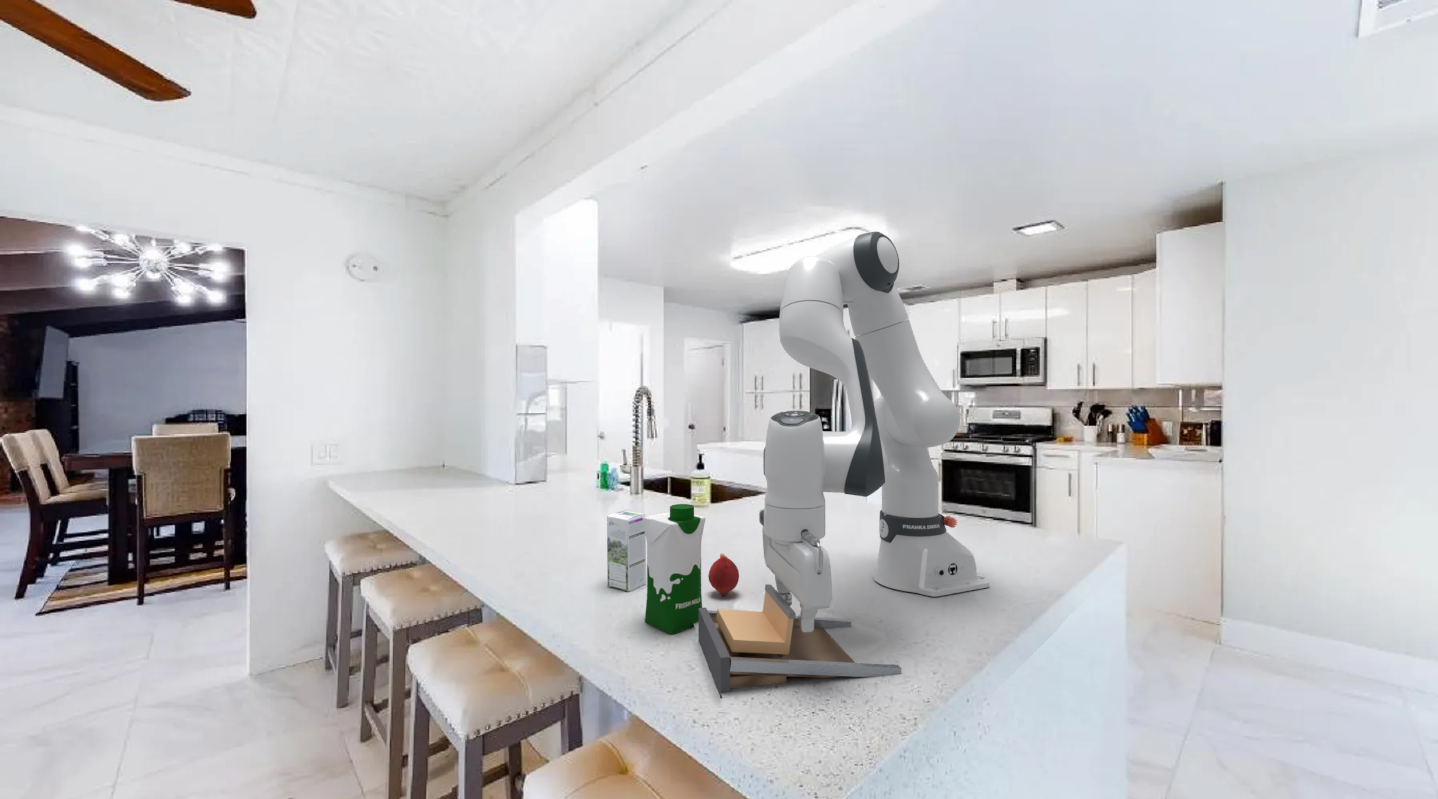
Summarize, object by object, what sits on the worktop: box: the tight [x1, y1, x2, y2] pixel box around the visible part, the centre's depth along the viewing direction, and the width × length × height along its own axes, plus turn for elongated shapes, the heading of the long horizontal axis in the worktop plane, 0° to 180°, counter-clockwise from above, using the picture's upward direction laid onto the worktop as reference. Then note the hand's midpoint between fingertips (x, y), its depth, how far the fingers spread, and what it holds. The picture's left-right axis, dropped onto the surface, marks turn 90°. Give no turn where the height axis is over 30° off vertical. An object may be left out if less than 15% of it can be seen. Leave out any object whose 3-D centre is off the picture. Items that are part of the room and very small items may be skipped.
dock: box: [697, 607, 902, 699], centre depth 84 cm, size 25×17×6 cm
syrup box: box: [606, 510, 647, 592], centre depth 115 cm, size 6×6×14 cm
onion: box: [708, 553, 740, 596], centre depth 110 cm, size 6×6×8 cm
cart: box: [716, 583, 797, 657], centre depth 82 cm, size 9×12×7 cm
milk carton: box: [642, 503, 706, 636], centre depth 97 cm, size 9×9×20 cm
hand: (794, 616), depth 84 cm, fingers open, 8 cm apart
